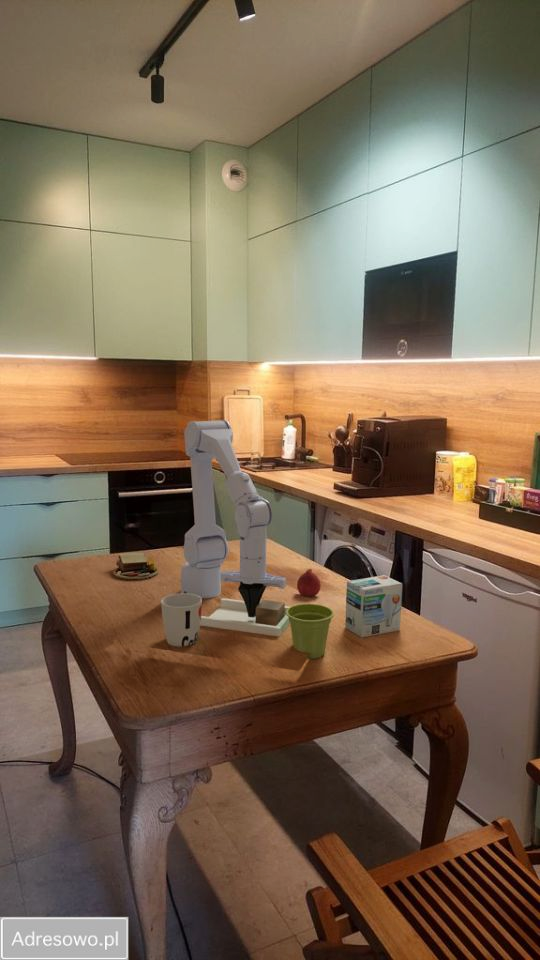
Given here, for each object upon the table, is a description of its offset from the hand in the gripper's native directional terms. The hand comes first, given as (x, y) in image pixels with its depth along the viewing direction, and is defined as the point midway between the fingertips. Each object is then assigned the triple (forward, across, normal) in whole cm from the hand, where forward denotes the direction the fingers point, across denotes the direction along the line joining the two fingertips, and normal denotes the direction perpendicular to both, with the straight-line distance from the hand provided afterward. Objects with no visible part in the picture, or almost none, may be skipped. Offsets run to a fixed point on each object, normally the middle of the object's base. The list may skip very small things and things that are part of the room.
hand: (252, 615), depth 141 cm
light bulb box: (+3, +25, +8) cm, 27 cm away
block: (+1, +4, 0) cm, 4 cm away
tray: (+2, -1, 0) cm, 3 cm away
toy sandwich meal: (+3, -44, +25) cm, 51 cm away
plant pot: (+3, +15, -9) cm, 18 cm away
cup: (+3, -10, -15) cm, 18 cm away
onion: (+3, +7, +21) cm, 22 cm away
